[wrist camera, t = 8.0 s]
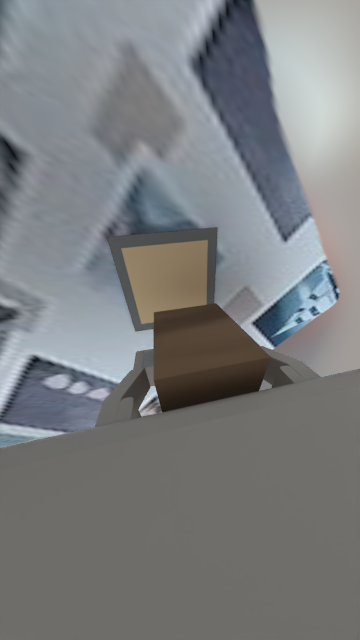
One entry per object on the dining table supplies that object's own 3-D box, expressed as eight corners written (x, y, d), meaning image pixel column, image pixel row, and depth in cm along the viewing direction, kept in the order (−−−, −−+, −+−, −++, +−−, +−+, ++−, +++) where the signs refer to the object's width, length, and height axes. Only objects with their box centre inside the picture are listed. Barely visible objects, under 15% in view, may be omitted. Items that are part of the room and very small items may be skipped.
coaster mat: (107, 237, 19) (106, 237, 19) (216, 227, 21) (217, 227, 20) (135, 330, 27) (135, 331, 27) (212, 318, 29) (213, 319, 28)
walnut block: (153, 312, 10) (153, 380, 5) (215, 303, 11) (270, 356, 6) (162, 358, 13) (168, 435, 8) (213, 349, 13) (249, 415, 8)
